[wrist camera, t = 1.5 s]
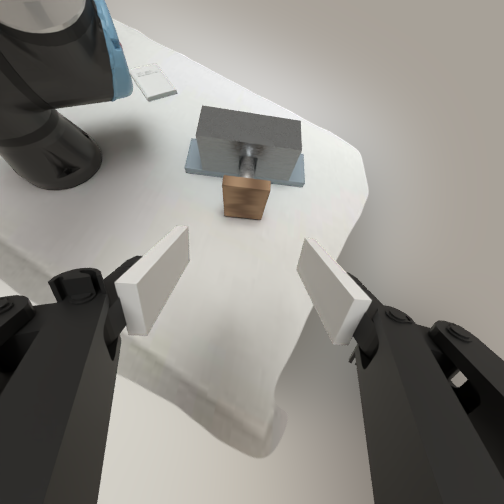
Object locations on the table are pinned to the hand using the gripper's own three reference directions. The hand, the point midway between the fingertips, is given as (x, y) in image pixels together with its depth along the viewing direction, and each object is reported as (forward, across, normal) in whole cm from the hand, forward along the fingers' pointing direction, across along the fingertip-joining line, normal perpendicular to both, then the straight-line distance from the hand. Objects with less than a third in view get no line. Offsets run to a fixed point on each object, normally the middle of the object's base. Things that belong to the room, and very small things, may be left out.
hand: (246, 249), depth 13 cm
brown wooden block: (+31, 0, -1) cm, 31 cm away
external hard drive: (+55, -28, +22) cm, 66 cm away
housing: (+37, 0, +5) cm, 38 cm away
